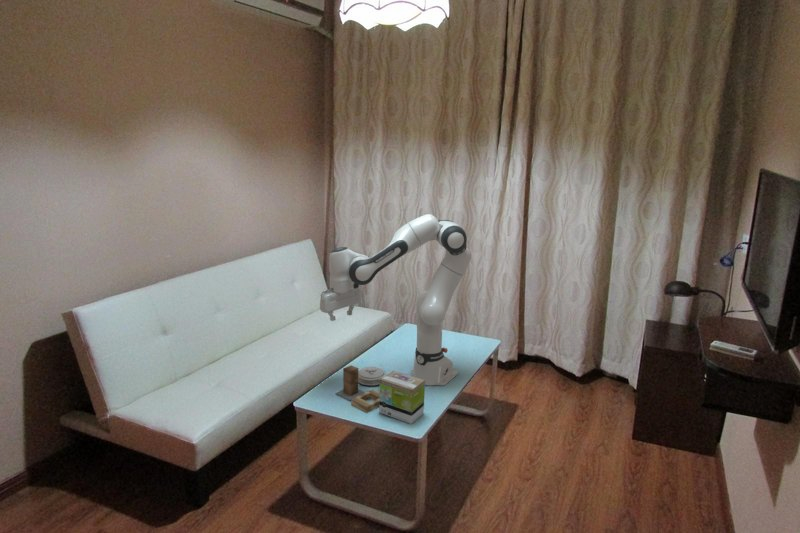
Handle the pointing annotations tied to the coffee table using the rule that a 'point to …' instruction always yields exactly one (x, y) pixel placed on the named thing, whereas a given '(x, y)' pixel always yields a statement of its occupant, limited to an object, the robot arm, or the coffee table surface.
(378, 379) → the grey round disc
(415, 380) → the tea box
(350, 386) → the walnut block
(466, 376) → the coffee table surface
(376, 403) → the pocket board
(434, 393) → the coffee table surface
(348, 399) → the rubber pad
